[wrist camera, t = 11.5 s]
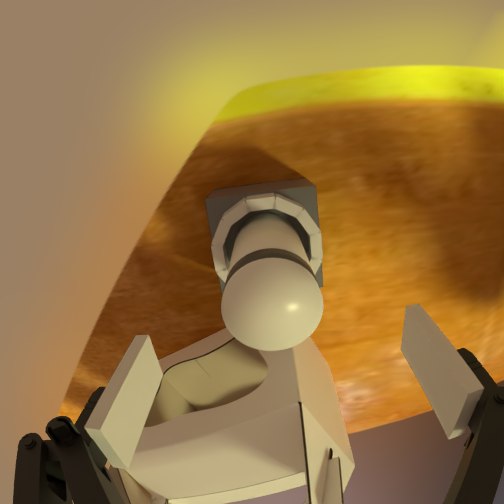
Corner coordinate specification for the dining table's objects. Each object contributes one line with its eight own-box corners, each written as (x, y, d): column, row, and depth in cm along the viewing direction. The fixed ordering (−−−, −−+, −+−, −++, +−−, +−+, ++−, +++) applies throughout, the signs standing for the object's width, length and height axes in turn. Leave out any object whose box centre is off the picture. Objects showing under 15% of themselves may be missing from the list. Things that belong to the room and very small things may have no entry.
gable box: (203, 417, 46) (176, 574, 20) (149, 363, 43) (81, 534, 16) (331, 365, 42) (376, 551, 16) (286, 295, 38) (319, 524, 12)
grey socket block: (305, 178, 33) (319, 189, 26) (313, 264, 37) (326, 296, 29) (213, 189, 34) (200, 204, 27) (228, 274, 37) (220, 308, 30)
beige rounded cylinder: (302, 270, 31) (324, 344, 19) (239, 278, 31) (230, 355, 20) (296, 209, 29) (321, 255, 17) (230, 217, 29) (211, 268, 18)
